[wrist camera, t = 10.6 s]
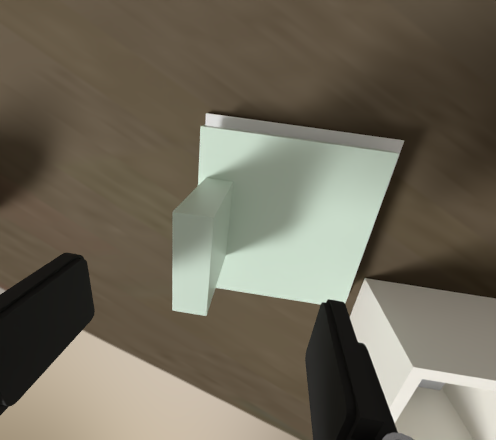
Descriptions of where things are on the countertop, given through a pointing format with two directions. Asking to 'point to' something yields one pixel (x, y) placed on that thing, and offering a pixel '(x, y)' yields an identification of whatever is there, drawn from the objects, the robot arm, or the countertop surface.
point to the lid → (275, 217)
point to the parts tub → (431, 358)
